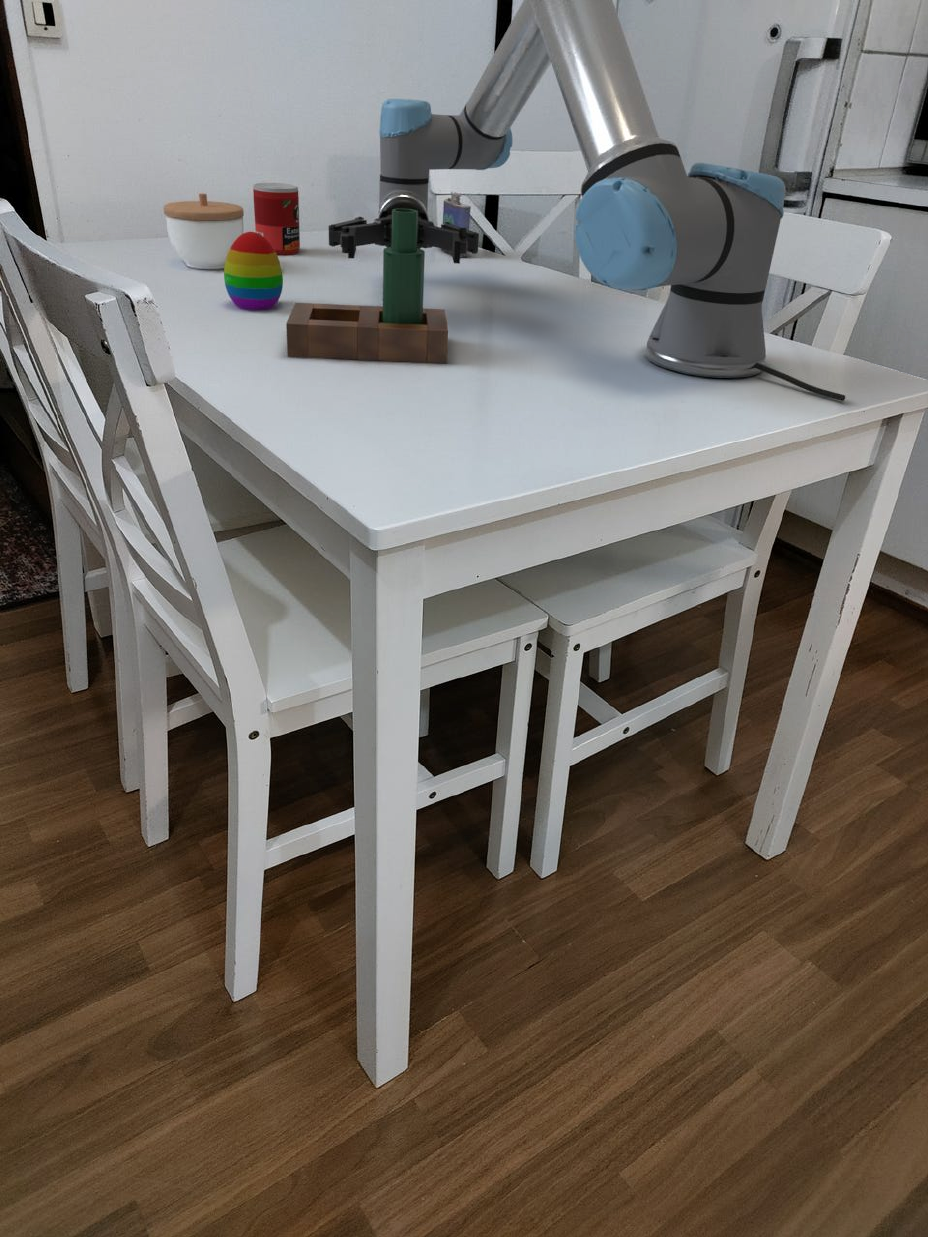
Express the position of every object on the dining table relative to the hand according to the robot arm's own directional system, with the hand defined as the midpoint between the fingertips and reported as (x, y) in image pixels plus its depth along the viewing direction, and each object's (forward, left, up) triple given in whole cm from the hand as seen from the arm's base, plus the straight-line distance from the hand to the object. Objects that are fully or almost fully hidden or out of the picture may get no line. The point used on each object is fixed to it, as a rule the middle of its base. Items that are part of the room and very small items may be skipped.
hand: (404, 249), depth 119 cm
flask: (+38, -51, -11) cm, 65 cm away
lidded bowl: (+52, -5, -11) cm, 53 cm away
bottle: (-4, +4, -11) cm, 13 cm away
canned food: (+56, -23, -11) cm, 61 cm away
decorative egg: (+25, +6, -11) cm, 27 cm away
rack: (-1, +8, -11) cm, 13 cm away
